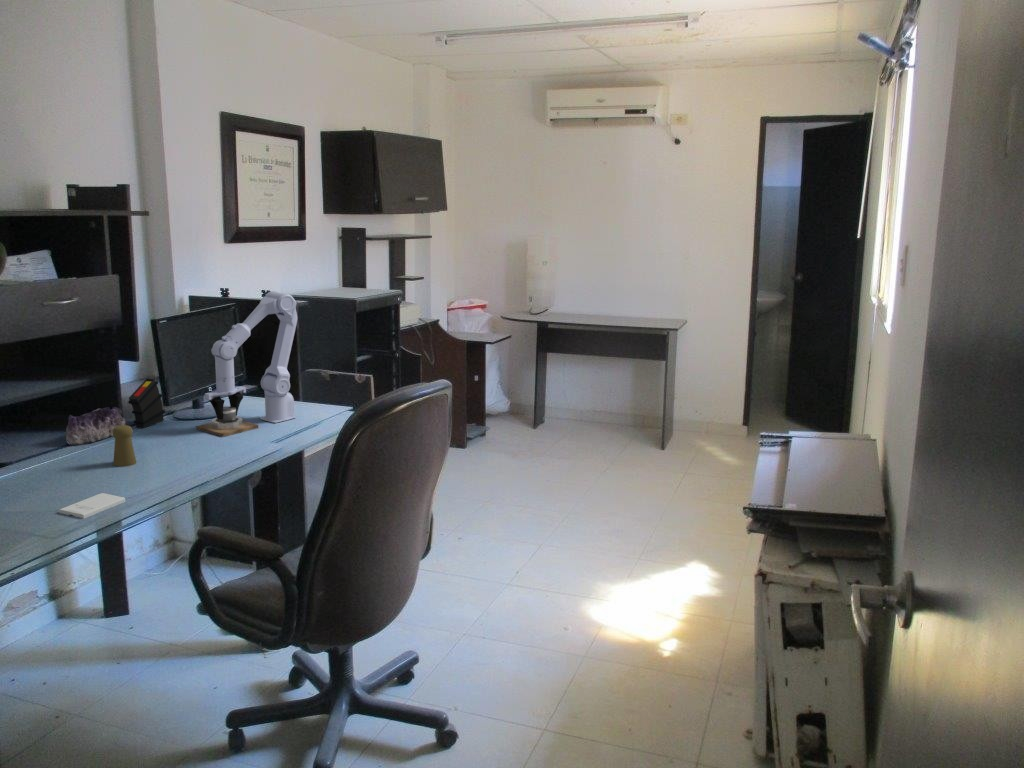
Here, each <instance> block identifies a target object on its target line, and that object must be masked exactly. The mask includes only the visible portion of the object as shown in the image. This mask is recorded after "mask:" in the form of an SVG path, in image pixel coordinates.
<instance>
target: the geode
mask: <svg viewBox="0 0 1024 768" xmlns="http://www.w3.org/2000/svg"><path fill="white" fill-rule="evenodd" d="M122 413H123V411H122V409H121V408H120V407H117V406H114V407H112V409H111V408H110V406H107V407H104V408H97V409H94V410H92V411H91V412H87V413H84V414H81V415H79V416H73V415H72V414H69V415H68V417H67V419H68V423H67V426H66V428H65V429H66V431H65V433H66V437H65V439H66V442H67V441H68V442H69V443H70V445H69V446H71V447H75V446H77V447H78V446H84V445H90V444H93V443H95V442H98V441H100V440H103V439H107V438H110V437H114V436H113V429H114V428H115V427H117V426H121V425H127V423H126V419H125V418H124V417H123V416H122Z"/></svg>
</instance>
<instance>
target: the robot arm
mask: <svg viewBox="0 0 1024 768" xmlns="http://www.w3.org/2000/svg"><path fill="white" fill-rule="evenodd" d="M297 304H298V303H297V301H296V300H295V298H294V297H293V295H291V294H289V293H283V292H278V291H276V290H272V291H269V292H267V293H266V294H265V296H263V297H262V298H261V299H260V301H259V304H258V305H257V306H256V307H255V308H254V309H253V311H252V312H251V313H249V315H248V316H247V317H246V319H245V320H244V321H243V322H242V323H239V322H237V323H236V324H233V325H232V326H231V329H230V330H229V331H228V332H227V333H226V334H225V335H223V336H222V337H221V339H219V340H217V341H215V342H214V343H213V345H212V348H211V349H210V351H211V354H212V356H214V361H215V363H214V365H215V386H216V389H215V390H213V391H209V392H207V393H204V399H205V401H206V400H207V401H208V402H210V404H211V406H212V407H213V410H214V412H215V415H216V418H217V419H223V407H224V404H225V399H222V398H223V397H227V398H228V401H229V407H235V408H236V416H237V415H238V411H239V407H240V404H241V402H242V400H243V399H244V393H245V394H247V387H246V386H244V385H242V386H241V385H240V386H236V385H235V384H236V383H235V380H236V379H235V361H234V357H236V356H237V354H238V350H239V348H240V347H241V346H242V345H243V344H244V342H246V341H247V340H248V338H249V337H251V334H252V333H251V331H252V330H253V329H254V327H256V326H257V325H258V324H259V323H260V322H261V321H262V320H263V319H265V318H266V317H267V316H268V315H274V314H275V315H276V317H277V319H278V320H279V325H278V330H277V335H276V338H275V339H276V340H275V342H274V343H275V344H274V349H273V353H272V358H271V363H270V365H269V366H268V367H267V368H266V369H265V372H264V375H262V377H261V378H260V379H261V380H260V386H261V388H262V390H264V405H265V407H264V408H265V411H264V412H265V416H262V417H259V418H260V420H262V421H265V422H270V423H273V424H276V423H280V422H285V421H289V420H292V419H296V417H297V416H295V399H294V396H293V395H292V393H291V392H289V391H290V389H291V383H290V378H291V374H290V372H289V371H288V365H289V361H290V355H291V351H292V346H293V341H294V337H295V333H296V327H297V324H298V313H297V309H296V308H297ZM237 417H238V416H237Z"/></svg>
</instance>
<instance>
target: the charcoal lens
mask: <svg viewBox="0 0 1024 768" xmlns="http://www.w3.org/2000/svg"><path fill="white" fill-rule="evenodd" d="M234 421H236V408H235V407H230V406H223V419H220V422H222V423H228V422H234Z"/></svg>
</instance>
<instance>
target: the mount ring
mask: <svg viewBox="0 0 1024 768" xmlns="http://www.w3.org/2000/svg"><path fill="white" fill-rule="evenodd" d="M242 421H243V418H242V417H239V416H236V421H234V422H228V423H222V422H220V419H217V417H215V418H213V419H211V422H212V427H213V428H215V429H223V430H227V429H235V428H239V427H241V426H242V425H243V423H242Z"/></svg>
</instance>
